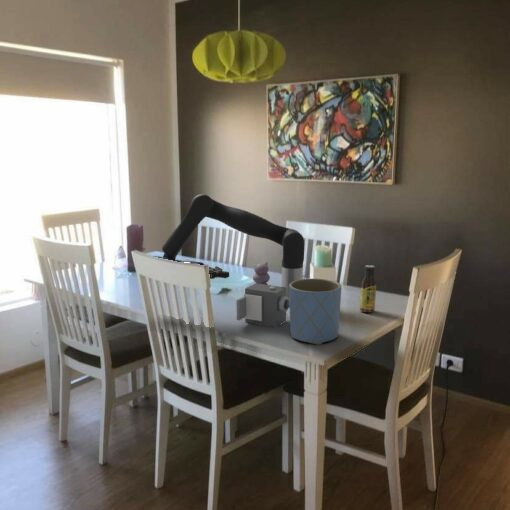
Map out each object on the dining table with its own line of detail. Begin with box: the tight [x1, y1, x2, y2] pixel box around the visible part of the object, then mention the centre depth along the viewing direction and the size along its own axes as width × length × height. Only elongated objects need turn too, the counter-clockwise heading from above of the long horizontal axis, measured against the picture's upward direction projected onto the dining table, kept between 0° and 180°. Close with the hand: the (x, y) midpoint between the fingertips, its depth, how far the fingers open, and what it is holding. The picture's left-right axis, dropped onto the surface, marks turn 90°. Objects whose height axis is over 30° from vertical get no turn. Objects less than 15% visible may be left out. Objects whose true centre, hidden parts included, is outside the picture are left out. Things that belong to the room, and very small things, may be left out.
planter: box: [289, 278, 342, 346], centre depth 205 cm, size 19×19×20 cm
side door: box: [236, 293, 262, 321], centre depth 217 cm, size 8×6×10 cm
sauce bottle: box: [359, 264, 377, 313], centre depth 234 cm, size 6×6×20 cm
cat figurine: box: [252, 261, 270, 285], centre depth 274 cm, size 8×8×12 cm
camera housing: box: [244, 282, 290, 328], centre depth 222 cm, size 16×9×15 cm, turn 62°
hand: (227, 275), depth 217 cm, fingers closed
